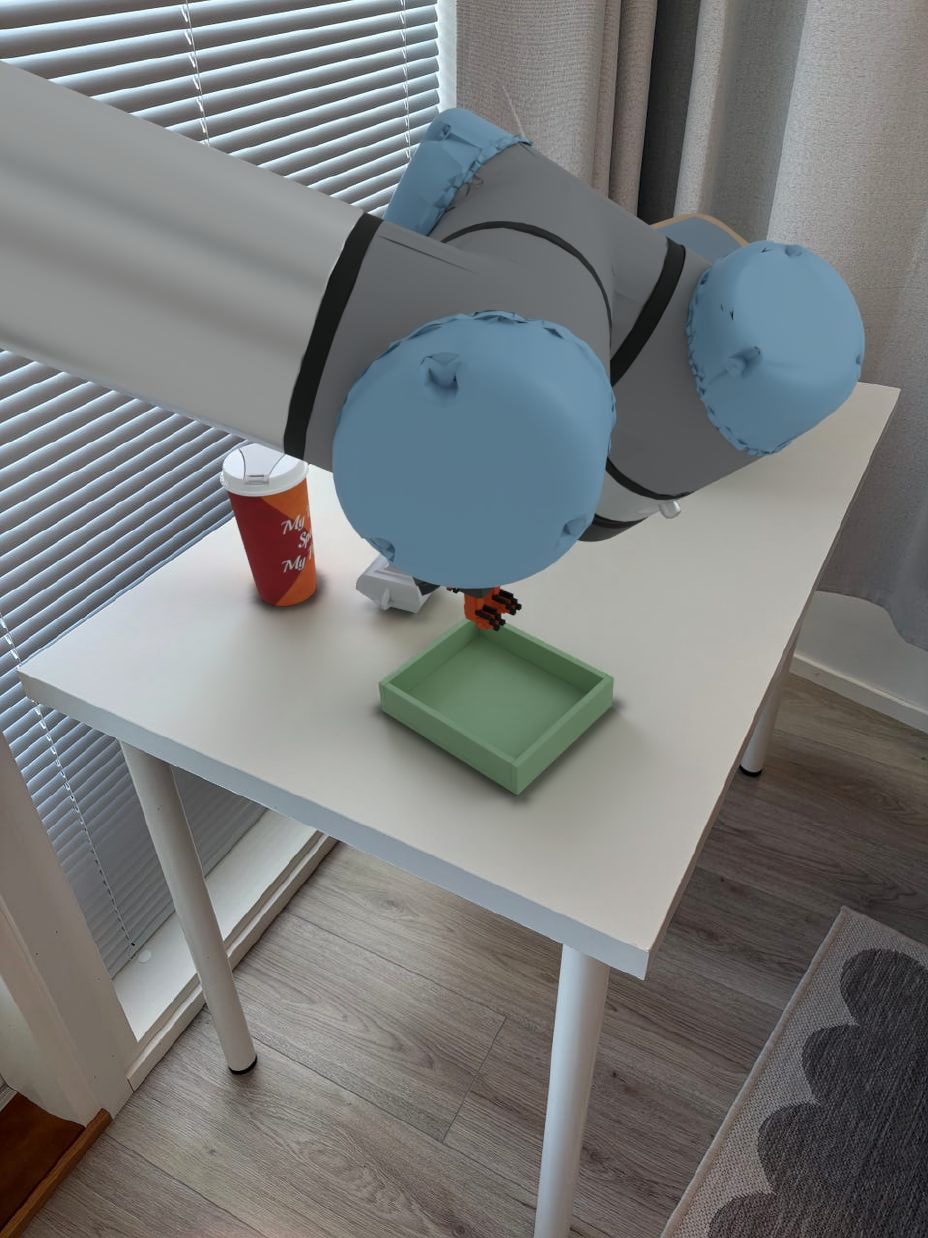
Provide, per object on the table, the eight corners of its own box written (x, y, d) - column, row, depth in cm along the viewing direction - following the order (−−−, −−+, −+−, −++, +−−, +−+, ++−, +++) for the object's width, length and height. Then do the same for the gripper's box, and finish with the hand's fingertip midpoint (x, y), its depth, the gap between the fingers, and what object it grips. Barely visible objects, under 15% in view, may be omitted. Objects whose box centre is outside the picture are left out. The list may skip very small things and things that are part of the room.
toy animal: (499, 658, 68) (494, 516, 60) (438, 631, 70) (426, 493, 63) (558, 600, 73) (560, 462, 65) (499, 577, 75) (495, 442, 68)
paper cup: (322, 612, 88) (299, 481, 79) (240, 614, 88) (208, 483, 79) (332, 562, 94) (312, 435, 85) (255, 564, 94) (227, 438, 85)
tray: (381, 710, 77) (378, 682, 75) (479, 635, 84) (477, 607, 82) (517, 796, 70) (517, 767, 68) (612, 705, 77) (614, 677, 75)
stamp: (417, 634, 85) (410, 557, 79) (352, 617, 87) (340, 541, 82) (458, 577, 91) (453, 503, 86) (396, 563, 93) (388, 490, 88)
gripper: (474, 588, 46) (364, 654, 67) (783, 465, 54) (598, 559, 75) (413, 447, 46) (324, 557, 68) (730, 344, 54) (560, 473, 75)
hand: (468, 558), depth 71 cm, fingers closed on toy animal, 8 cm apart
